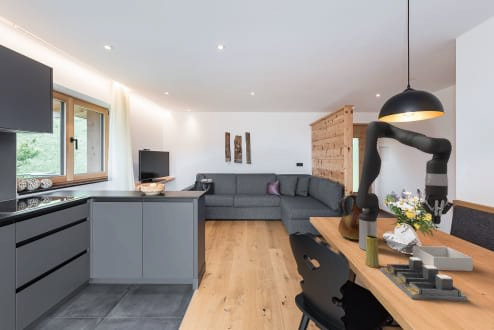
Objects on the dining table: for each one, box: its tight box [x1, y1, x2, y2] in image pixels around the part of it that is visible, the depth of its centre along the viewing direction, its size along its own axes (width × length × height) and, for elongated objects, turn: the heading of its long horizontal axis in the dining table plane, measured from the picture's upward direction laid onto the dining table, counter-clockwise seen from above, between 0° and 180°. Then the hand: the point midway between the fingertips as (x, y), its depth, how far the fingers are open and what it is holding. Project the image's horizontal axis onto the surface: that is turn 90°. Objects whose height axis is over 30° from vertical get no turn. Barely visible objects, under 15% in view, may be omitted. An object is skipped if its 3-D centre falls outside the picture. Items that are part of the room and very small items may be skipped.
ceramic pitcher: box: [338, 193, 364, 241], centre depth 153 cm, size 20×20×30 cm
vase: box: [364, 235, 380, 269], centre depth 113 cm, size 6×6×14 cm
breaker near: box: [436, 274, 454, 290], centre depth 87 cm, size 3×4×6 cm
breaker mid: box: [422, 264, 439, 279], centre depth 95 cm, size 3×4×6 cm
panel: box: [380, 263, 468, 302], centre depth 95 cm, size 22×20×4 cm
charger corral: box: [412, 245, 474, 272], centre depth 114 cm, size 15×18×6 cm
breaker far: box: [408, 256, 423, 269], centre depth 103 cm, size 3×4×6 cm
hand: (435, 223), depth 97 cm, fingers closed
